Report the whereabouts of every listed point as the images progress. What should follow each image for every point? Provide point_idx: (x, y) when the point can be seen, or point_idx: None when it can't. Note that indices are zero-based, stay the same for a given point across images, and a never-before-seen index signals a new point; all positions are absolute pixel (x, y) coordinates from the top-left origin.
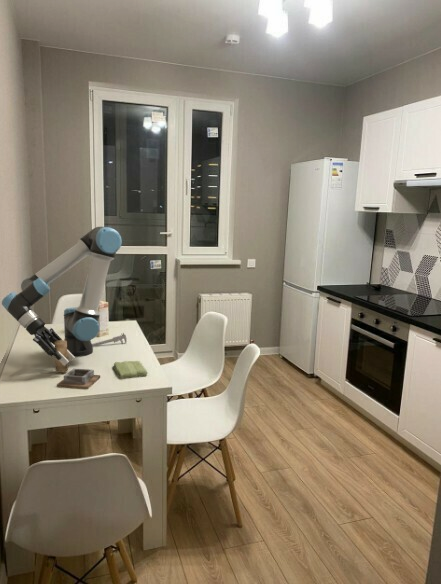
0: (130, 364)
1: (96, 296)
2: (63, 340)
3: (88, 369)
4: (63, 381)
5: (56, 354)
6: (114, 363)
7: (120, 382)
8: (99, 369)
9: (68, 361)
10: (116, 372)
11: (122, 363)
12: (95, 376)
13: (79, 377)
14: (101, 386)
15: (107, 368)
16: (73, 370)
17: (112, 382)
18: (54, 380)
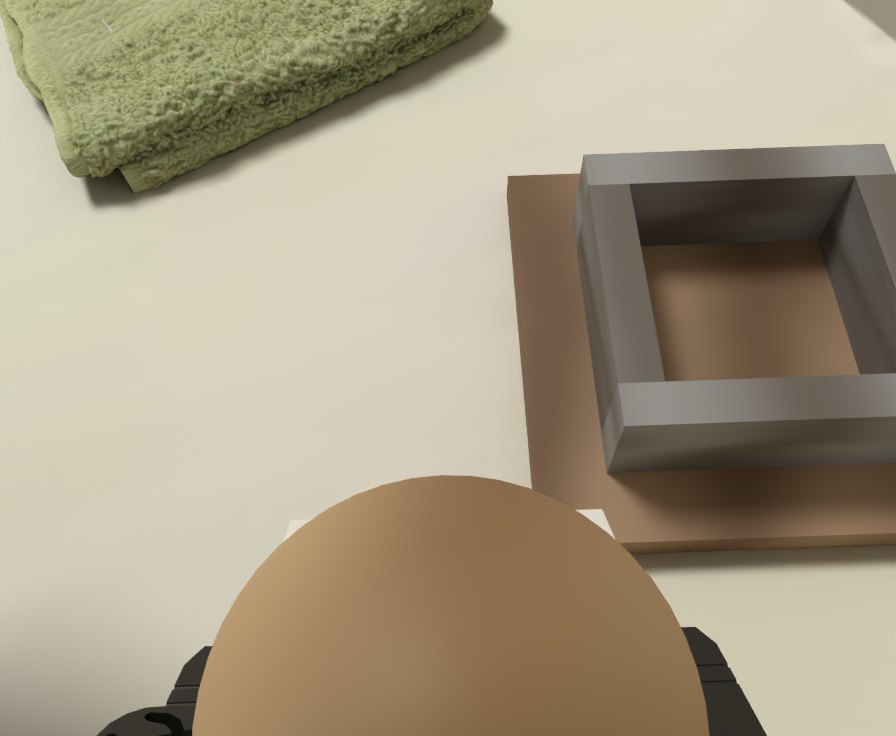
0: None
1: None
2: (227, 696)
3: (592, 216)
4: (889, 491)
5: (754, 729)
6: (115, 145)
7: (578, 2)
8: (232, 305)
9: (581, 513)
10: (350, 86)
11: (125, 65)
12: (563, 206)
13: None
14: (743, 101)
15: (184, 235)
16: (711, 384)
17: (603, 55)
18: (822, 712)
